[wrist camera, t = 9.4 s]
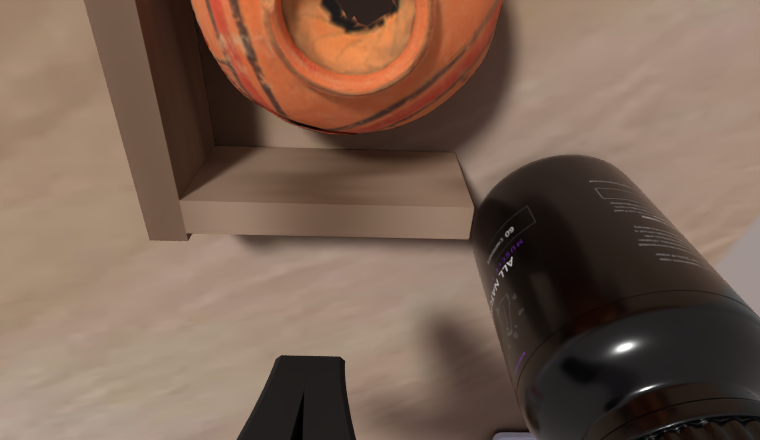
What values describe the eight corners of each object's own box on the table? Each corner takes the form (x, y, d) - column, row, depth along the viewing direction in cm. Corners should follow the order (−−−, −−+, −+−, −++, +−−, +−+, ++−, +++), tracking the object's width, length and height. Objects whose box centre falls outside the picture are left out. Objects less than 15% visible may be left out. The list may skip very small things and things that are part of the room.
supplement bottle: (439, 201, 19) (516, 519, 9) (604, 116, 17) (924, 396, 7) (506, 306, 23) (618, 625, 13) (652, 243, 21) (918, 559, 11)
